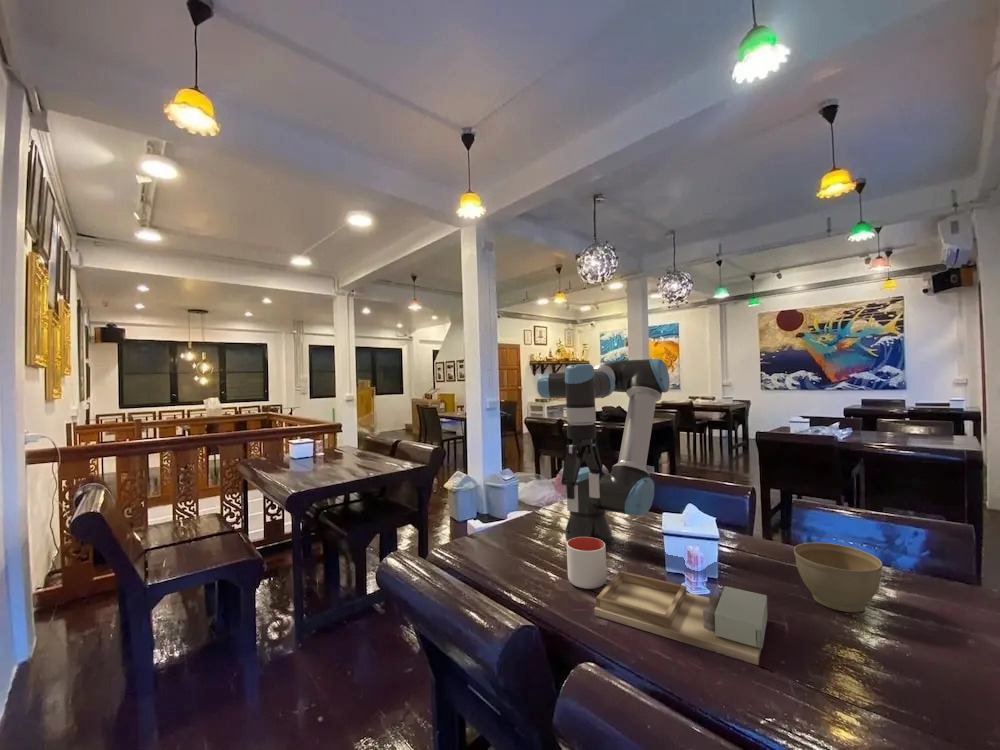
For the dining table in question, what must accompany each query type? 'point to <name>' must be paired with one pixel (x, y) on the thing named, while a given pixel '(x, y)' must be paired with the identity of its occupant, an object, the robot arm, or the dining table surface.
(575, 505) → the robot arm
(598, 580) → the cup
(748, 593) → the cover
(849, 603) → the planter bowl
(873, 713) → the dining table surface
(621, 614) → the board
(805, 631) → the dining table surface
